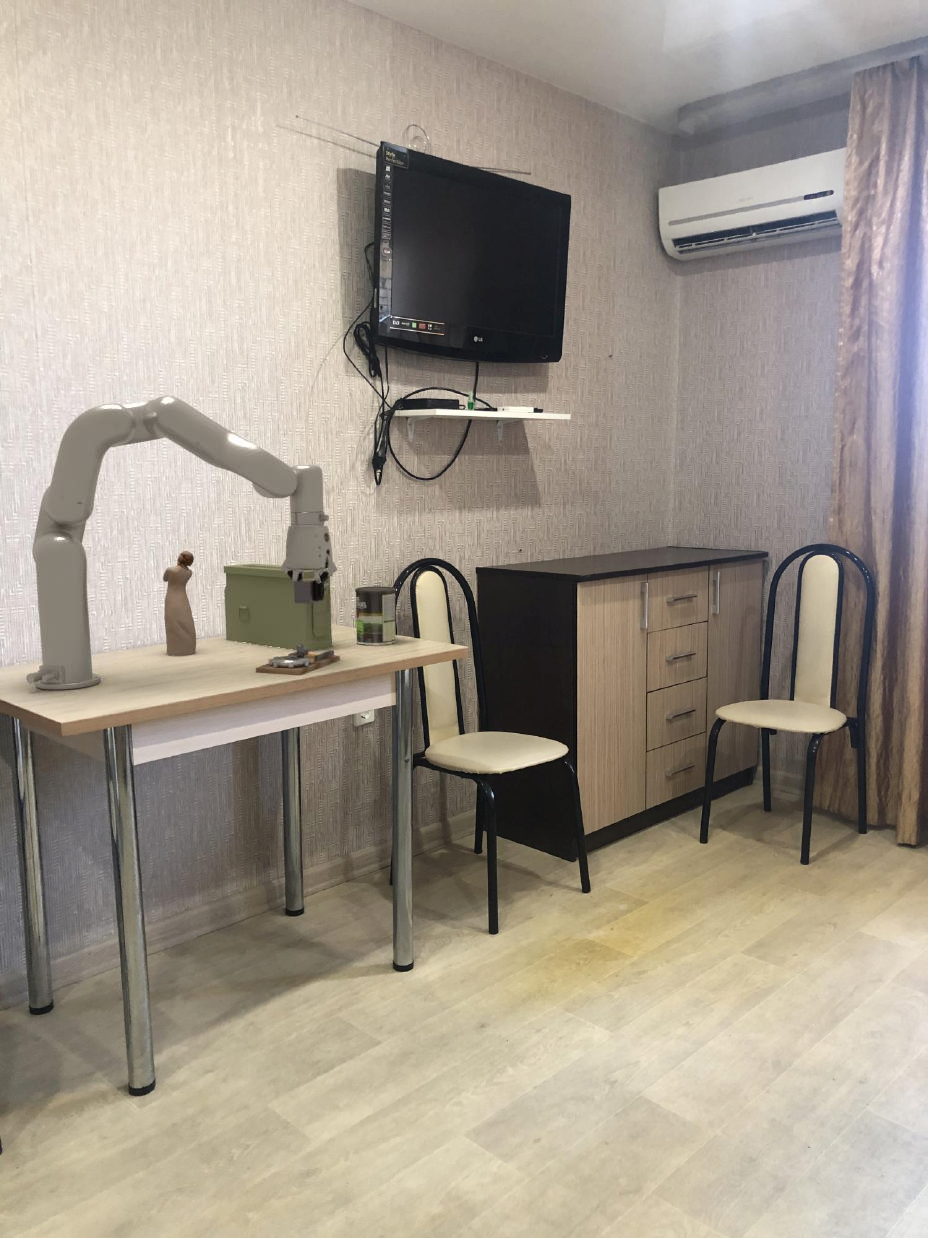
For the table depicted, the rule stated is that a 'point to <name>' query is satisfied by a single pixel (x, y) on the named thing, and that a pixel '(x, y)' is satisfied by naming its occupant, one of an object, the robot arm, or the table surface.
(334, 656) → the board
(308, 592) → the charcoal rectangular block
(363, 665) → the table surface
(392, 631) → the coffee can
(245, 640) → the ammunition box
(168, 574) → the figurine
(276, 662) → the sprocket
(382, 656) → the table surface
